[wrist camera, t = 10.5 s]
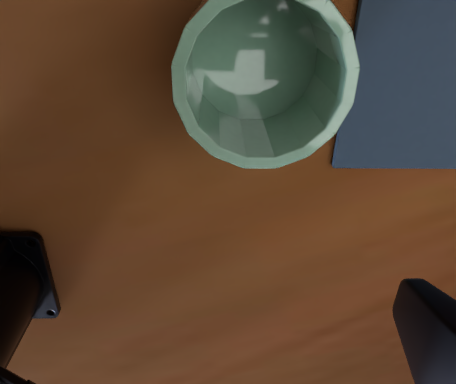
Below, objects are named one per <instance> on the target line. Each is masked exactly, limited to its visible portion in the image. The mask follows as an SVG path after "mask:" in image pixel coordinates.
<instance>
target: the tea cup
mask: <svg viewBox="0 0 456 384" xmlns="http://www.w3.org/2000/svg"><path fill="white" fill-rule="evenodd" d="M359 72H360V63H359V58H358V54H357V49H356V44H355V40H354V35H353V31H352V29H351V27H350V26H349V24H348V23H347V22H346V20H345V19H344V18H343V16H342V15H341V13H340V12H339V11H338V9H337V8H336V7H335V5H334V4H333V3H332V1H331V0H203V1H202V2H201V4H200V5H199V6H198V7H197V8H196V9H195V10H194V11H193V13H192V14H191V16H190V18H189V20H188V21H187V23H186V25H185V27H184V29H183V32H182V35H181V37H180V40H179V43H178V46H177V49H176V52H175V54H174V57H173V60H172V65H171V74H172V94H173V101H174V105H175V107H176V110H177V112H178V114H179V116H180V118H181V120H182V122H183V124H184V126H185V129H186V131H187V133H189V135H190V136H191V137H192V138H193V139H194V140H195V141H196V142H197V143H199V144H200V145H201V146H202V147H203V148H204V149H205V150H206V151H207V152H208V153H209V154H211V155H212V156H214V157H215V158H218V159H221V160H223V161H226V162H228V163H231V164H234V165H236V166H239V167H241V168H279V167H282V166H284V165H287V164H290V163H293V162H296V161H298V160H301V159H304V158H307V156H310V155H311V154H312V153H314V152H315V151H316V150H317V149H318V148H320V147H321V146H322V145H323V144H325V143H326V142H327V141H328V140H329V139H331V138H332V137H333V136H334V134H336V132H337V131H338V129H339V127H340V126H341V124H342V122H343V121H344V119H345V117H346V116H347V114H348V112H349V111H350V109H351V108H352V106H353V103H354V99H355V94H356V88H357V83H358V77H359Z"/></svg>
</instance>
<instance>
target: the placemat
mask: <svg viewBox="0 0 456 384" xmlns="http://www.w3.org/2000/svg"><path fill="white" fill-rule="evenodd" d="M353 35H354V40H355V44H356V49H357V54H358V58H359V63H360V72H359V77H358V83H357V88H356V94H355V99H354V103H353V106H352V108H351V109H350V111H349V112H348V114H347V116H346V117H345V119H344V121H343V122H342V124H341V126H340V127H339V129H338V131H337V136H336V142H335V148H334V154H333V160H332V166H333V168H435V169H456V0H359V4H358V10H357V16H356V22H355V28H354V34H353Z"/></svg>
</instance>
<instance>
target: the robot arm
mask: <svg viewBox="0 0 456 384" xmlns="http://www.w3.org/2000/svg"><path fill="white" fill-rule="evenodd" d="M30 240H32V241H34V242H35V243H32V242H31V241H30ZM51 310H52V311H51ZM60 310H61V308H60V304H59V300H58V296H57V293H56V289H55V285H54V281H53V278H52V274H51V270H50V266H49V262H48V259H47V255H46V251H45V247H44V244H43V240H42V238H41V236H40V235H39V234H37V233H33V232H0V384H35V383H34V382H32V381H30V380H27V381H26V380H24V379H23V378H21V377H19V376H18V375H16V374H14V373H12V372H11V371H9V370H7V369H6V368H7V366H8V364H9V362H10V360H11V358H12V356H13V354H14V352H15V350H16V349H17V347H18V345H19V343H20V341H21V339H22V337H23V335H24V333H25V331H26V329H27V328H28V326H29V324H30V322H31V320H32V318H56V317H57V316H58V315H59V312H60ZM393 317H394V321H395V324H396V327H397V330H398V333H399V336H400V339H401V342H402V345H403V348H404V352H405V355H406V358H407V361H408V364H409V367H410V370H411V373H412V376H413V379H414V382H415V384H456V300H455V299H453V298H452V297H450V296H449V295H447V294H446V293H444V292H442V291H441V290H439V289H438V288H436V287H435V286H433V285H432V284H430V283H429V282H427V281H425V280H424V279H419V278H415V279H403V280H402V281H401V283H400V285H399V288H398V292H397V295H396V298H395V301H394V305H393Z"/></svg>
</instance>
